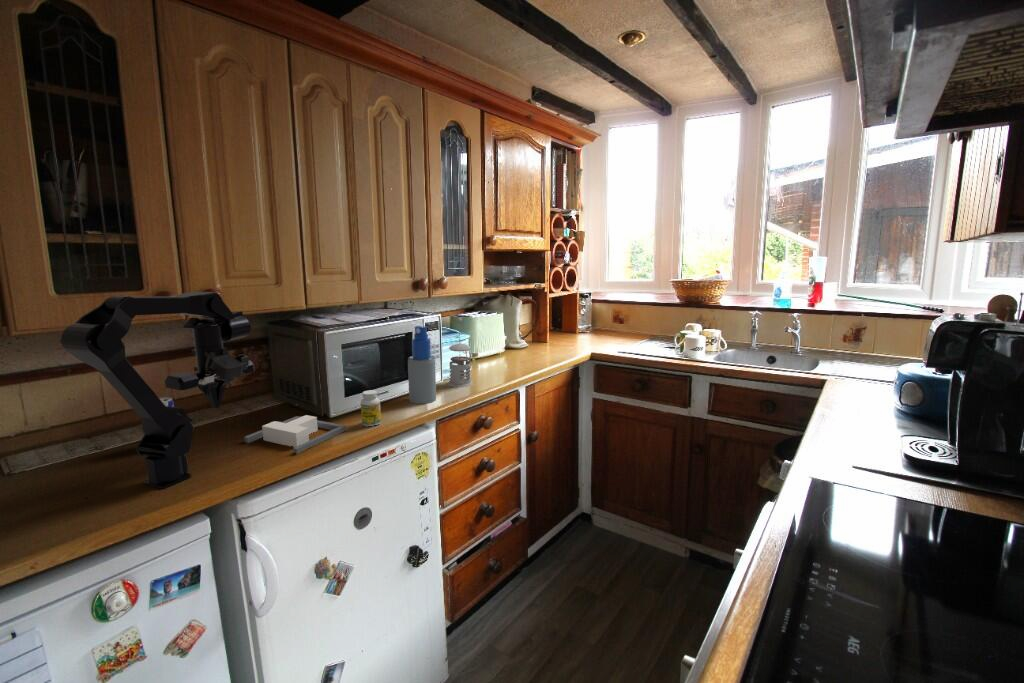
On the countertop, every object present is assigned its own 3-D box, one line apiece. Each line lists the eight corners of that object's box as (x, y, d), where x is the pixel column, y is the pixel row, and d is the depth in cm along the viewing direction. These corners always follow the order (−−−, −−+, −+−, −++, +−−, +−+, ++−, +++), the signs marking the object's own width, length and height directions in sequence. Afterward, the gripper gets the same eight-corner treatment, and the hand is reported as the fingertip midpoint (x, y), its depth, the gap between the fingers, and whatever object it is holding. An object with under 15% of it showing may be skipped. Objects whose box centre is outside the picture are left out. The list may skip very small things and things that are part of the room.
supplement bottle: (382, 420, 144) (381, 389, 142) (379, 426, 139) (378, 394, 137) (363, 420, 144) (362, 389, 142) (360, 427, 138) (358, 395, 137)
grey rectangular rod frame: (297, 454, 120) (296, 448, 120) (244, 442, 127) (244, 436, 127) (346, 430, 136) (345, 425, 136) (297, 420, 143) (296, 416, 143)
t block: (297, 448, 124) (296, 433, 124) (263, 440, 129) (262, 426, 128) (328, 432, 134) (327, 419, 133) (296, 426, 139) (295, 413, 138)
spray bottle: (426, 405, 158) (424, 329, 153) (403, 401, 161) (401, 327, 156) (441, 397, 166) (439, 325, 161) (418, 394, 169) (416, 323, 164)
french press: (442, 385, 180) (440, 318, 175) (457, 377, 191) (456, 314, 186) (465, 388, 176) (464, 320, 171) (480, 380, 187) (479, 316, 182)
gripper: (192, 356, 103) (201, 425, 106) (267, 340, 120) (272, 401, 123) (159, 351, 108) (168, 418, 111) (235, 337, 124) (241, 395, 128)
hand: (216, 407), depth 118 cm, fingers closed
